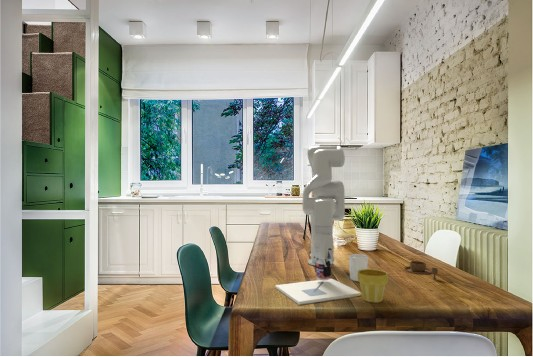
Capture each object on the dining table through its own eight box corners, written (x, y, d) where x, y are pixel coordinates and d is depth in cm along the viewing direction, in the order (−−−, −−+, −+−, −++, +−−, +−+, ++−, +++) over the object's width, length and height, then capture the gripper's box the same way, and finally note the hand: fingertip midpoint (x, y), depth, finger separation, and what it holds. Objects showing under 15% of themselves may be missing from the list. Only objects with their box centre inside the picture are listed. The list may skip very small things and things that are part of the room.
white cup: (354, 282, 147) (354, 258, 147) (345, 277, 154) (345, 254, 154) (371, 281, 149) (371, 257, 149) (361, 276, 156) (361, 253, 156)
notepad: (275, 287, 139) (275, 285, 139) (331, 280, 149) (331, 278, 149) (298, 304, 121) (298, 301, 121) (361, 295, 130) (361, 292, 130)
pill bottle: (313, 278, 144) (313, 254, 144) (321, 276, 148) (321, 252, 148) (324, 281, 140) (324, 257, 140) (332, 278, 144) (332, 254, 144)
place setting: (439, 272, 166) (439, 259, 166) (439, 283, 148) (439, 269, 148) (399, 268, 174) (399, 256, 174) (395, 278, 156) (395, 264, 156)
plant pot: (364, 292, 133) (364, 267, 133) (392, 299, 127) (392, 271, 127) (352, 300, 125) (352, 272, 125) (381, 307, 119) (381, 278, 119)
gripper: (304, 227, 150) (304, 270, 150) (326, 233, 134) (326, 281, 134) (320, 226, 153) (319, 268, 153) (343, 232, 137) (342, 279, 137)
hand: (322, 273), depth 144 cm, fingers closed on pill bottle, 5 cm apart
